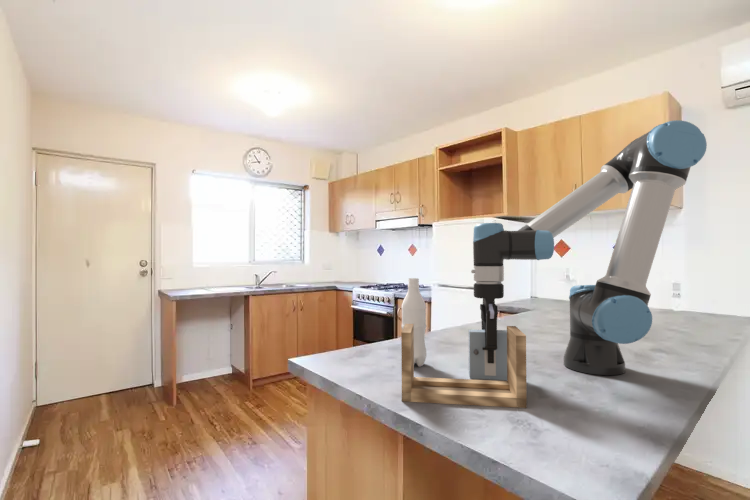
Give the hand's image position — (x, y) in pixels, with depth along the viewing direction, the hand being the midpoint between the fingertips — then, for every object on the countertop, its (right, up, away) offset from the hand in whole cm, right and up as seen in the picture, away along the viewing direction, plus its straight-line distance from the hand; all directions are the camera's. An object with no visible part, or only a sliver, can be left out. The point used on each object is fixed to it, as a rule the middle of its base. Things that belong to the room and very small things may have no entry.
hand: (489, 372), depth 102 cm
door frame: (-10, -1, -13) cm, 17 cm away
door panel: (0, -1, 0) cm, 1 cm away
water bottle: (-18, -2, +12) cm, 22 cm away
